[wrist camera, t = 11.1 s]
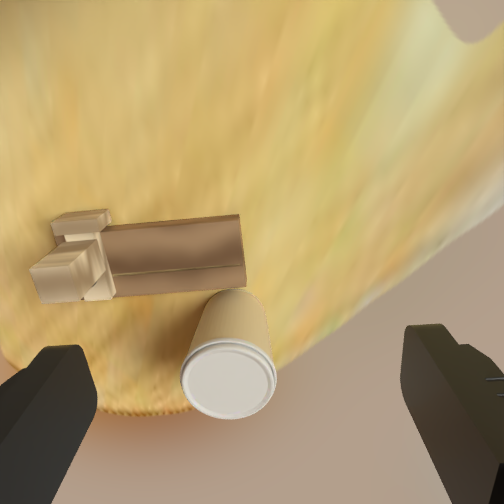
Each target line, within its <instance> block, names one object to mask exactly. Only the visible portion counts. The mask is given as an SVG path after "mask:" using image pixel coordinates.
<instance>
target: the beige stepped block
mask: <svg viewBox="0 0 504 504" xmlns="http://www.w3.org/2000/svg"><path fill="white" fill-rule="evenodd" d="M110 222H112V220H111V216H110V212H109V209H104V210H93V211H82V212H71V213H65V214H64V215H62V216H61V217H59V218H57V219H56V220H54V221H53V222H51V223H50V224H51V227H52V230H53V233H54V236H60V235H64V237H65V240H66V242H63V243H61V244H60V245H59V246H58V247H56V248H55V249H54V250H52V251H51V252H50V253H49V254H47V255H46V256H45V257H44V258H42V259H41V260H40V261H38V262H37V263H36V264H35V265H33V266H32V267H31V268H30V269H29V271H30V274H31V276H32V279H33V282H34V284H35V287H36V290H37V293H38V295H39V298H40V301H41V303H42V304H50V303H62V302H75V301H80V300H81V299H82V298H83V297H84V299H85V301H97V300H109V299H112V298H113V296H114V295H115V293H116V289H115V285H114V282H113V278H112V275H111V271H110V267H109V264H108V260H107V256H106V253H105V249H104V246H103V242H102V238H101V235H100V232H101V231H102V230H103V229H104V228H105V227H106V226H107V225H108V224H109V223H110Z"/></svg>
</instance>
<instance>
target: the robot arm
mask: <svg viewBox="0 0 504 504" xmlns="http://www.w3.org/2000/svg"><path fill="white" fill-rule="evenodd" d="M401 364H402V365H401V374H400V381H401V389H402V393H403V397H404V400H405V403H406V405H407V407H408V409H409V412H410V414H411V416H412V418H413V420H414V422H415V425H416V427H417V429H418V431H419V433H420V435H421V437H422V440H423V442H424V444H425V446H426V448H427V450H428V452H429V455H430V457H431V459H432V461H433V463H434V465H435V468H436V470H437V472H438V474H439V476H440V479H441V481H442V483H443V485H444V487H445V489H446V491H447V493H448V496H449V498H450V500H451V502H452V504H504V374H503V373H502V371H501V370H500V369H499V368H498V367H497V366H496V364H495V363H494V362H493V361H492V360H491V359H490V358H489V357H487V356H486V355H484V354H483V353H481V352H480V351H478V350H477V349H475V348H474V347H472V346H471V345H469V344H461V345H459V344H458V343H457V342H456V341H455V339H454V338H453V337H452V336H451V334H450V333H449V331H448V330H447V329H446V328H445V326H444V325H442V324H426V325H409V326H407V327H406V329H405V333H404V343H403V354H402V363H401ZM96 408H97V391H96V388H95V385H94V382H93V379H92V376H91V373H90V370H89V367H88V363H87V360H86V357H85V354H84V352H83V349H82V348H81V347H80V346H79V345H60V346H47V347H44V348H43V349H42V350H41V351H40V352H39V353H38V355H37V356H36V357H35V358H34V359H33V361H32V362H31V363H30V364H29V366H28V367H27V368H24V369H22V370H20V371H19V372H18V373H16V374H15V375H14V376H12V377H11V378H10V379H8V380H7V381H6V382H4V383H3V384H1V386H0V504H51V503H52V501H53V499H54V497H55V495H56V493H57V491H58V488H59V487H60V484H61V482H62V481H63V479H64V477H65V475H66V472H67V470H68V468H69V466H70V464H71V462H72V460H73V458H74V456H75V454H76V452H77V450H78V448H79V446H80V444H81V442H82V440H83V438H84V436H85V434H86V432H87V430H88V428H89V426H90V424H91V422H92V420H93V418H94V415H95V412H96Z"/></svg>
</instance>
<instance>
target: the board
mask: <svg viewBox="0 0 504 504" xmlns="http://www.w3.org/2000/svg"><path fill="white" fill-rule="evenodd" d="M100 235H101V238H102V242H103V246H104V249H105V253H106V256H107V260H108V264H109V267H110V271H111V275H112V278H113V282H114V285H115V289H116V293H115V295H114V296H113V297H125V296H137V295H150V294H163V293H175V292H188V291H200V290H213V289H226V288H238V287H246V282H247V277H246V268H245V260H244V251H243V243H242V234H241V225H240V217H239V214H237V215H226V216H215V217H204V218H193V219H182V220H170V221H159V222H148V223H137V224H126V225H115V226H106V227H105V228H104V229H103V230H102V231H101V232H100ZM54 237H55V240H56V243H57V246H59V245H60V244H61V243H63V242H66V240H65V237H64V235H60V236H54ZM81 300H85V299H84V297H83V298H82V299H81Z"/></svg>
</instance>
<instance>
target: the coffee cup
mask: <svg viewBox="0 0 504 504" xmlns="http://www.w3.org/2000/svg"><path fill="white" fill-rule="evenodd" d="M276 380H277V377H276V370H275V367H274V363H273V356H272V349H271V342H270V336H269V330H268V323H267V317H266V313H265V309H264V306H263V304H262V303H261V302H260V300H259V299H258V298H257V297H256V296H254V295H253V294H251V293H249V292H247V291H244V290H240V289H228V290H224V291H221V292H219V293H217V294H215V295H214V296H213V297H212V298H211V299H210V300H209V301H208V303H207V304H206V306H205V309H204V311H203V313H202V316H201V319H200V321H199V324H198V326H197V329H196V332H195V334H194V337H193V340H192V342H191V345H190V348H189V351H188V354H187V356H186V358H185V360H184V362H183V364H182V367H181V371H180V383H181V386H182V389H183V392H184V394H185V396H186V398H187V400H188V401H189V402H190V403H191V404H192V405H193V406H194V407H195V408H196V409H198V410H199V411H201V412H202V413H204V414H207V415H209V416H212V417H215V418H220V419H239V418H244V417H247V416H250V415H252V414H254V413H256V412H257V411H259V410H260V409H262V408H263V407H264V406H265V405H266V404H267V402H268V401H269V400H270V398H271V396H272V395H273V393H274V390H275V387H276Z"/></svg>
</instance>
